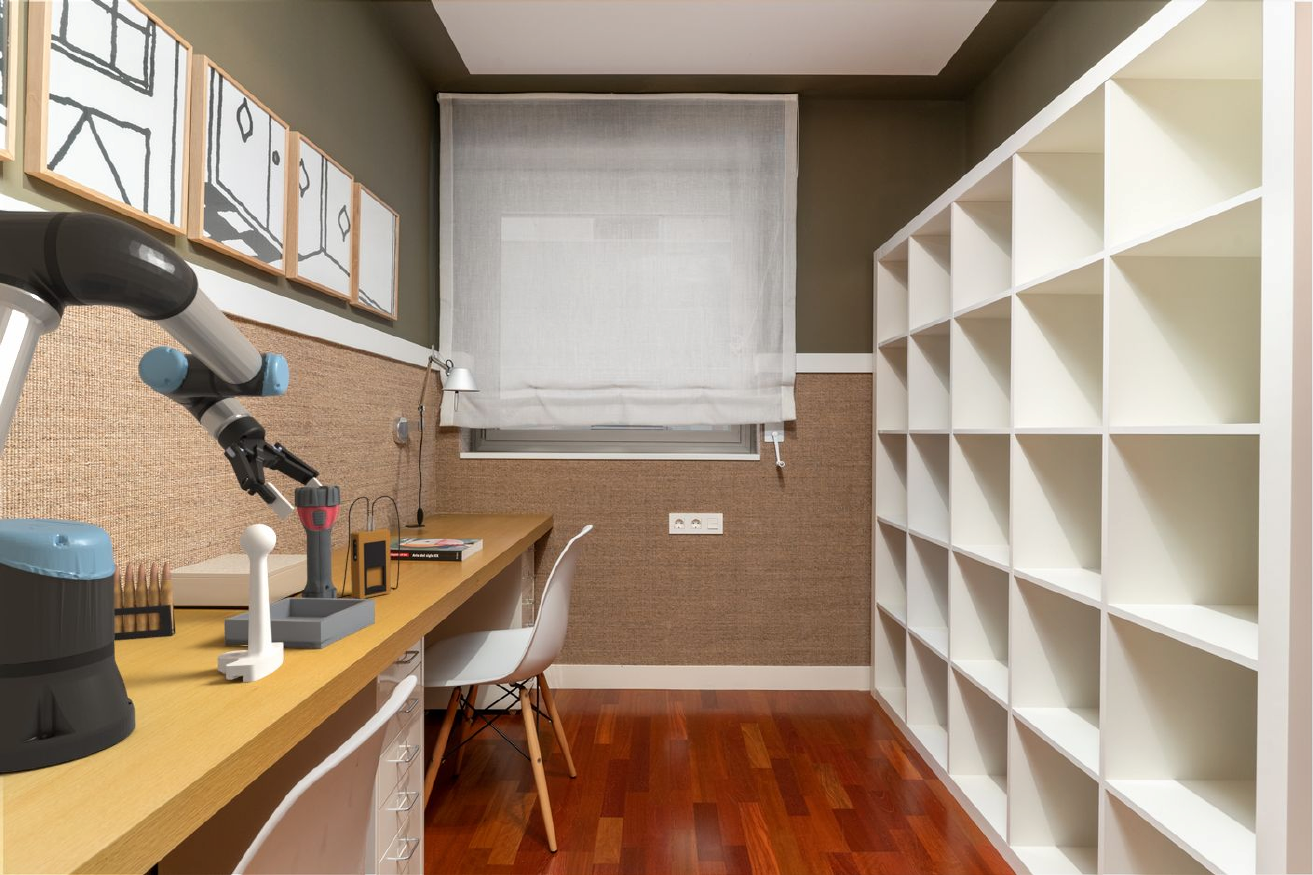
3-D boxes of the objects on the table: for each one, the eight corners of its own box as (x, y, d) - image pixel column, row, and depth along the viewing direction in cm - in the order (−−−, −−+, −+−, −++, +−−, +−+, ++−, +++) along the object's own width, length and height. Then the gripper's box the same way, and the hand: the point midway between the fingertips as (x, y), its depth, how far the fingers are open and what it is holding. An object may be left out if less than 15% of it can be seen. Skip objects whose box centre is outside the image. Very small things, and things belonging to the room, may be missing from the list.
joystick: (261, 681, 102) (259, 528, 102) (200, 684, 101) (197, 530, 101) (291, 657, 113) (288, 519, 113) (236, 659, 112) (233, 520, 112)
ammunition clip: (175, 633, 128) (174, 560, 128) (172, 636, 126) (171, 562, 126) (99, 639, 125) (98, 564, 125) (95, 642, 123) (93, 566, 123)
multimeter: (377, 585, 166) (375, 491, 166) (406, 590, 160) (405, 493, 160) (312, 598, 154) (310, 497, 154) (341, 604, 148) (340, 499, 148)
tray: (321, 648, 118) (320, 621, 118) (224, 645, 120) (224, 619, 120) (374, 622, 133) (374, 599, 133) (288, 620, 136) (288, 597, 136)
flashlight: (319, 606, 146) (317, 484, 146) (352, 609, 144) (349, 484, 143) (285, 615, 139) (283, 487, 139) (319, 619, 136) (317, 487, 136)
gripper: (264, 442, 157) (335, 517, 155) (170, 444, 133) (253, 533, 131) (288, 415, 156) (360, 490, 154) (198, 412, 132) (282, 502, 130)
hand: (311, 510), depth 142 cm, fingers open, 13 cm apart
